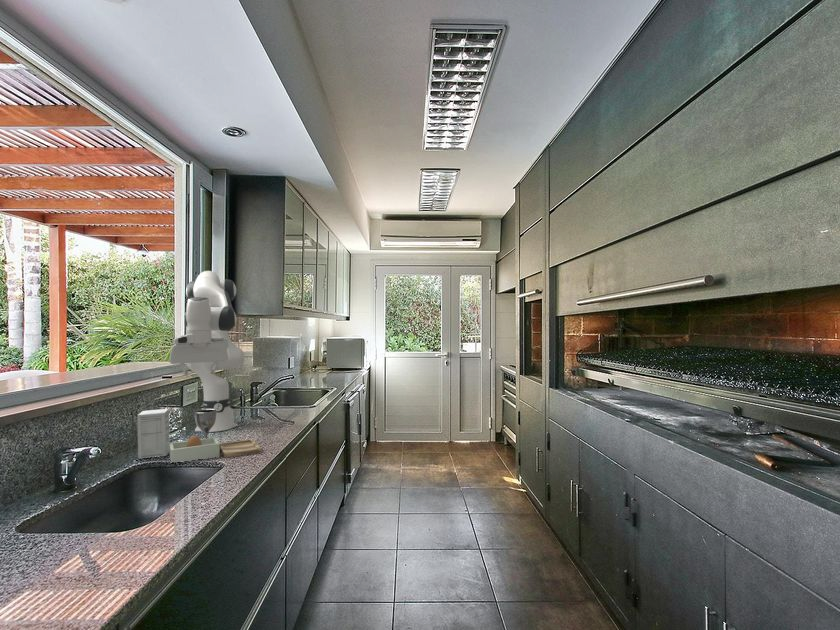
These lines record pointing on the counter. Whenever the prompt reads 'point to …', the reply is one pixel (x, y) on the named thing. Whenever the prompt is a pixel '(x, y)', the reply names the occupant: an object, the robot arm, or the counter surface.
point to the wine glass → (205, 420)
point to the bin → (194, 450)
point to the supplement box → (153, 433)
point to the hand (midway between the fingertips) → (199, 374)
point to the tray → (239, 448)
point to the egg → (194, 441)
